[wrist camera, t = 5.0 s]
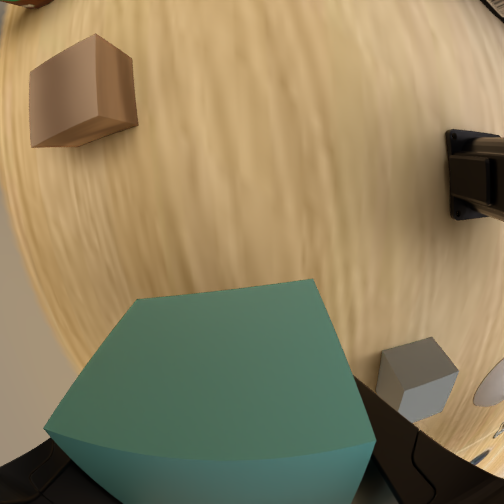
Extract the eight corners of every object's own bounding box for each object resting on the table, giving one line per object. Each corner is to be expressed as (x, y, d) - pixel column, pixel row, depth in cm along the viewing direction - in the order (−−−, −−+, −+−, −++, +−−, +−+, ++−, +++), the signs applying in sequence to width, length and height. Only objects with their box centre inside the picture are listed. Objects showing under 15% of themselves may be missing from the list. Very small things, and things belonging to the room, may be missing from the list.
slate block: (431, 336, 20) (459, 371, 15) (421, 376, 21) (442, 411, 16) (381, 349, 20) (404, 390, 15) (375, 390, 21) (391, 429, 17)
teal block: (312, 278, 7) (376, 440, 2) (317, 402, 9) (339, 525, 4) (137, 299, 8) (43, 428, 3) (183, 412, 9) (155, 524, 4)
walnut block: (132, 59, 14) (95, 33, 9) (138, 125, 15) (98, 115, 10) (73, 84, 14) (29, 72, 9) (78, 146, 16) (31, 147, 11)
